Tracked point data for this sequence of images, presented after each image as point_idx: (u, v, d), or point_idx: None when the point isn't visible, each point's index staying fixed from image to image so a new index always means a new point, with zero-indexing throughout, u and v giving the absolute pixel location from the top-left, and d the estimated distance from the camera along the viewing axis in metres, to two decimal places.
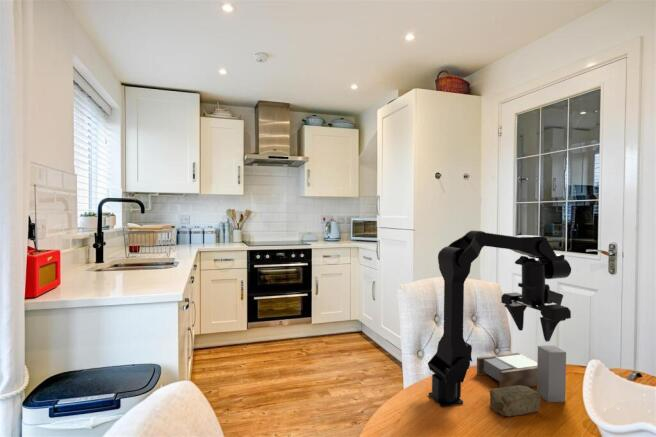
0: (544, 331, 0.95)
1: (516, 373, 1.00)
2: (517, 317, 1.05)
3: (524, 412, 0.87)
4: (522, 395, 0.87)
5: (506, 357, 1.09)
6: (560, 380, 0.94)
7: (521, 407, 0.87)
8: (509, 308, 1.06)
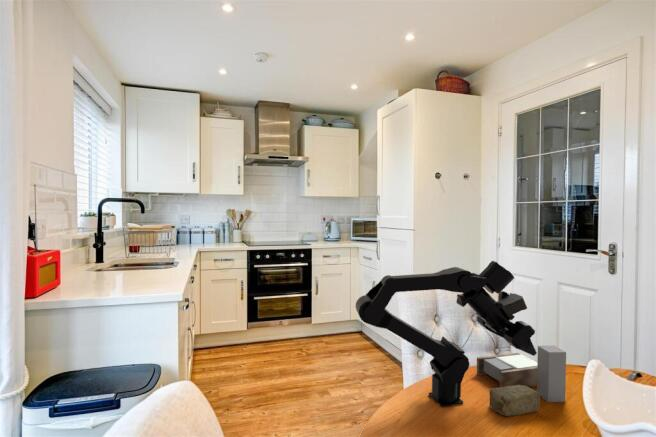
0: (524, 351, 0.90)
1: (516, 373, 1.00)
2: (502, 333, 1.00)
3: (523, 412, 0.87)
4: (522, 395, 0.88)
5: (506, 357, 1.09)
6: (560, 380, 0.94)
7: (521, 407, 0.87)
8: (489, 330, 1.01)
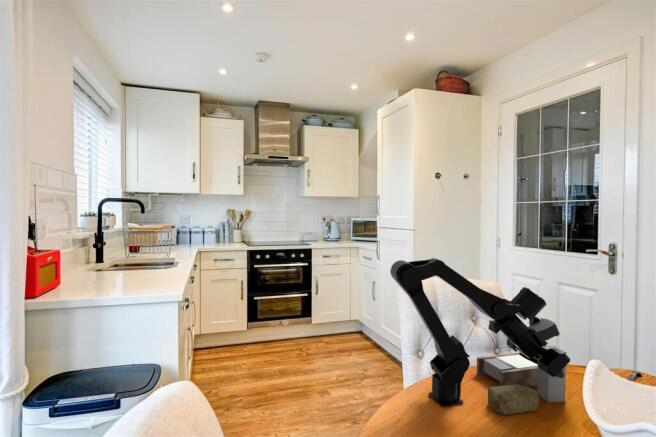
0: None
1: (516, 373, 1.00)
2: (537, 361, 0.98)
3: (521, 411, 0.88)
4: (520, 394, 0.88)
5: (506, 357, 1.09)
6: (560, 380, 0.94)
7: (518, 406, 0.88)
8: (524, 357, 0.99)
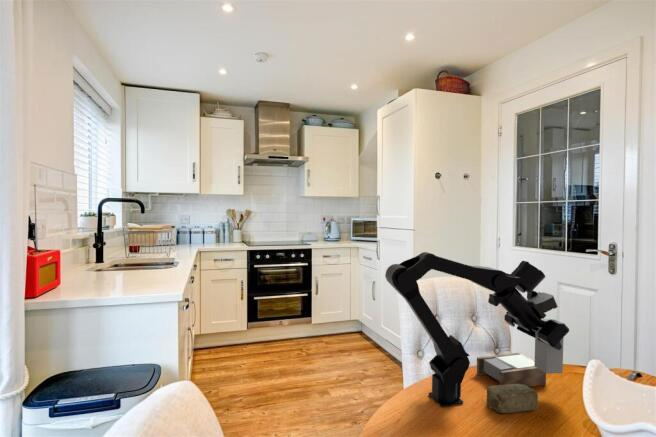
0: None
1: (516, 373, 1.00)
2: None
3: (520, 410, 0.88)
4: (518, 393, 0.88)
5: (506, 357, 1.09)
6: (557, 352, 0.95)
7: (517, 405, 0.88)
8: (522, 331, 1.00)
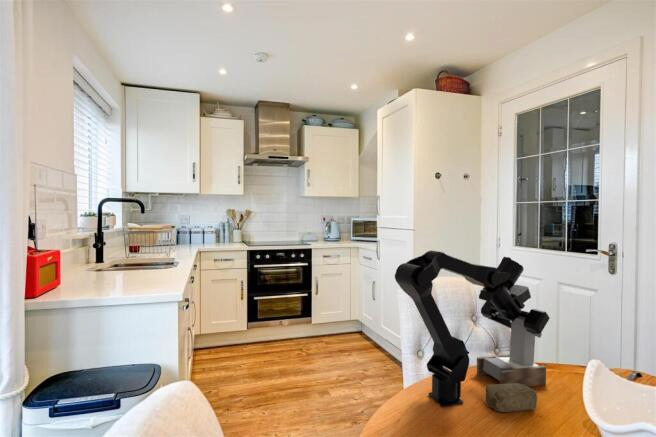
0: (535, 335, 1.02)
1: (516, 373, 1.00)
2: (503, 321, 1.10)
3: (518, 409, 0.89)
4: (517, 392, 0.89)
5: (506, 358, 1.09)
6: (531, 344, 1.06)
7: (515, 404, 0.88)
8: (493, 320, 1.10)
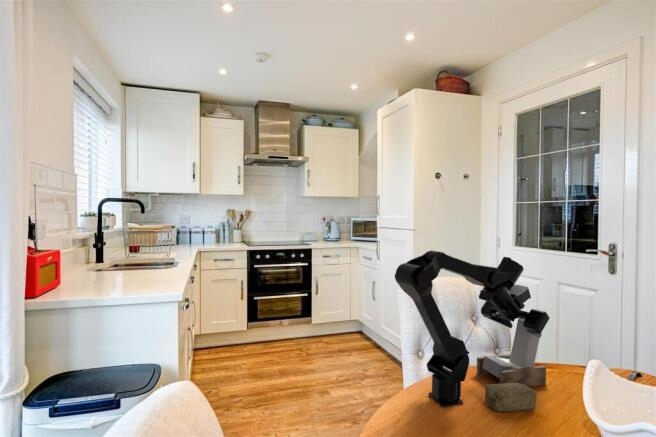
0: (535, 335, 1.02)
1: (516, 373, 1.00)
2: (503, 321, 1.10)
3: (517, 408, 0.89)
4: (516, 392, 0.89)
5: (506, 359, 1.09)
6: (534, 349, 1.06)
7: (514, 403, 0.89)
8: (493, 320, 1.10)
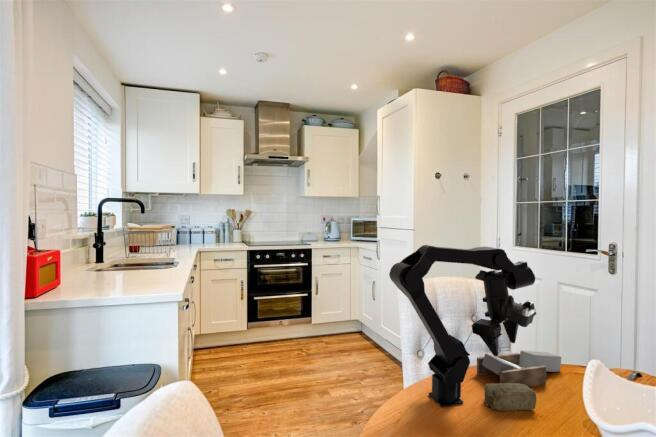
0: None
1: (516, 373, 1.00)
2: (507, 328, 1.01)
3: (516, 408, 0.89)
4: (515, 392, 0.89)
5: (506, 361, 1.09)
6: (545, 366, 1.09)
7: (513, 403, 0.89)
8: None
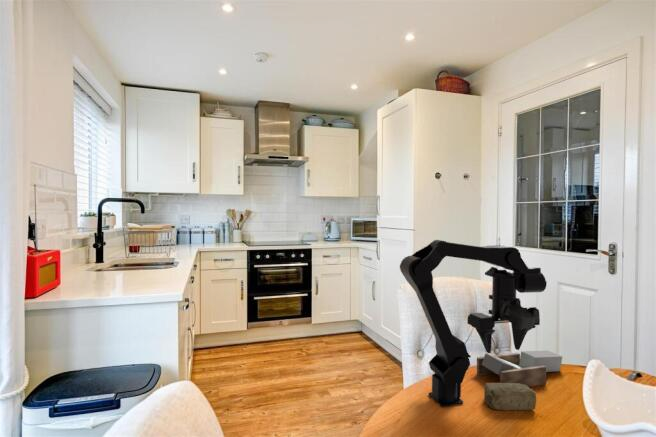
0: None
1: (516, 373, 1.00)
2: (514, 334, 0.98)
3: (515, 408, 0.89)
4: (514, 392, 0.89)
5: (506, 361, 1.09)
6: None
7: (512, 403, 0.89)
8: None
